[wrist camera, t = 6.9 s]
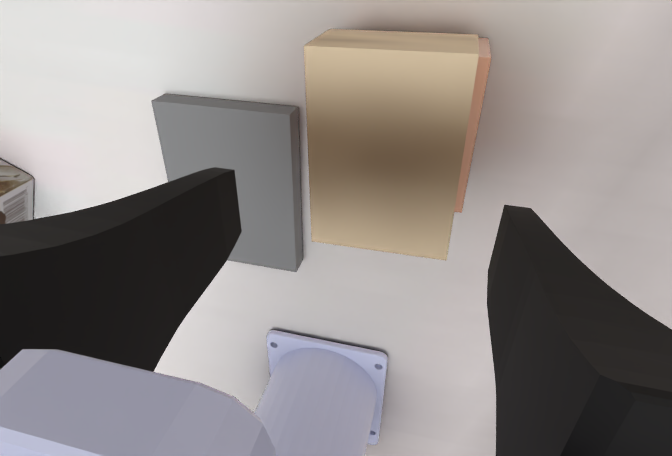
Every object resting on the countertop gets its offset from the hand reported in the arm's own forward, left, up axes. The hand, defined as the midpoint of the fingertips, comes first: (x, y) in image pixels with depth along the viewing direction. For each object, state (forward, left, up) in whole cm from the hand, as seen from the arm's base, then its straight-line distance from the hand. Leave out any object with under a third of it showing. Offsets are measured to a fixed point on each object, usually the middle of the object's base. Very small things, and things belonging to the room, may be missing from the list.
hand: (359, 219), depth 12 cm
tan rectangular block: (0, 0, -6) cm, 6 cm away
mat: (-5, +8, -10) cm, 14 cm away
